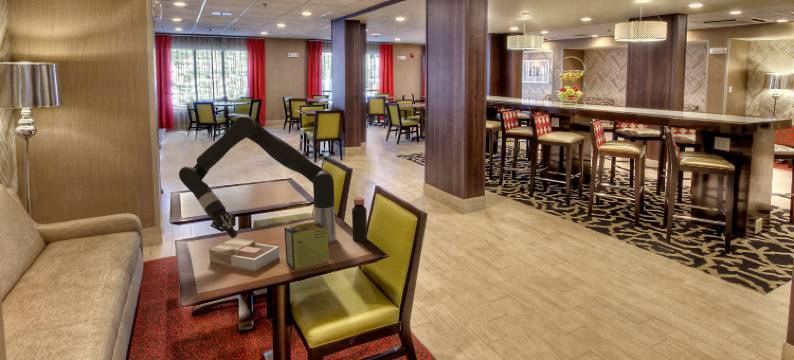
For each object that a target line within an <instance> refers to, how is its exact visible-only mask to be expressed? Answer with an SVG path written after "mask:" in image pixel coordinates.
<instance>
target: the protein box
mask: <svg viewBox="0 0 794 360" xmlns="http://www.w3.org/2000/svg"><path fill="white" fill-rule="evenodd" d="M283 228H284V241H285V242H284V243H285V244H284V246H285V260H286V261H285V262H286V263H287V264H288V265H290V267H292V269H294V270H298V269H303V268H307V267H312V266H316V265H321V264H325V263H329V261H330V257H329V256H330V255H329V253H330V252H329V244H328V227H327V226H325V225H324V224H322V223H320V222H319V221H315V220H314V221H310V222H305V223H304V222H303V223H299V224H294V225H288V226H284V227H283Z"/></svg>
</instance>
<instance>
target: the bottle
mask: <svg viewBox="0 0 794 360" xmlns="http://www.w3.org/2000/svg"><path fill="white" fill-rule="evenodd" d="M367 213H368V211H367V208H366V207H365V198H364V197H361V196H360V197H355V198H353V207H352V209H351V219H352V220H351V225H352V227H351V228H352V229H351V230H352V240H353V241H354V240H355V241H354V242H357V241H362V240H365V241H367V240H368V231H367V230H368V220H367V219H368V218H367V215H368V214H367ZM362 242H363V241H362Z"/></svg>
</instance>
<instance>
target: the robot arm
mask: <svg viewBox="0 0 794 360" xmlns="http://www.w3.org/2000/svg"><path fill="white" fill-rule="evenodd" d="M245 139H248V140H250V141H252V142H253V143H255V144H257V145H258V146H259V147H260V148H261V149H262V150H263V151H265V152H266V153H267V155H268V156H270V157H271V158H272V159H273V160H275V161H276V162H277V163H279V164H280V165H282V166H283V167H285V168H287V169H289V170H291V171H293V172H295V173H298V174H300V175H301V176H303V177H304V178H306V179H307V180H308V181H309V182H311V183H312V185H313V186H312V189H313V190H312V191H313V209H314V214H313V215H314V221H319V222H320V223H322V224H324V225H325V226H327V227H328V245H329V244H332V243H334V242H336V239H337V233H336V232H337V231H336V227H337V225H336V219H335V218H336V217H335V183H334V182H335V181H334V178H333V175H332V174H331V172H329V171H328V170H326V169H324V168H322V167H321V166H319V165H317V164H316V163H313V162H312V161H311V160H310V159H308V158H307V157H306V156H305V155H304V154H303V153H301V152H299V150H297V149H296V148H295V147H293V146H292V145H290V144H289V143H288V142H286V141H285V140H283V139H282V138H280V137H278V136H277V135H274V134H273V133H271V132H269V131H267V129H265V128H264V127H263V126H262V125H260V124H259V123H258V122H257V121H256V120H255V119H254V118H253V117H251V115H248V114H247V115H240V116H238V117H236V118H235V120H234V121H233V123H232V125H231V126H230V127H229V128H228V129H227V131H226V132H225V133H224V134H223V135H221V136H220V138H218V140H217V141H215V142H214V143H212V144H211V145H210V146H209V147H207V148H206V149H205V150H204V151H203V152H202V153H201V154H200V155H199V156H198V157H197V158H196V164H194V166H186V165H185V166H183V167H182V168H180V169H179V172H178V178H179V180H180V181H181V182H182V184H183V185H184V186H185V187H186V188H187V189H188V190H189V191H190V192H191V193H192V194H193V197H195V198H196V200H197V201H198V203H199V205H200V206H201V208H202V209H203V211H204V212H205V213H206V214H207V216H208V218H210V219H211V223H210V227H211V228H213V229H214V230H217V231H220V232H221V233H223V232H226V233H227V234H228V236H229V237H230V238H231V239H234V238H237V236H238V233H237V232H236V230H235V228H234V227H236V224H237V223H236V221H237V220H236V219H237V217H236V215H235V214H230V213H229V212H227V210H226V207H225V205H224V203H222V201H221V200H220V198H219V197H218V196H217V195H216V193H214V191H213V190H212V188H211V187H210V186H209V184H208V183H206V182H204V181H203V180H204V178H205V177H206V176H207V174H208V173H209V171H210V170H211V169H212V168H213V167H214V166H215V165H217V163H218V162H219V161H221V159H223V158H224V156H225V155H226V154H227V153H228V152H229V151H230V150H231V149H232V148H234V147H235V146H236V145H237V144H238V143H240V142H241V141H243V140H245Z"/></svg>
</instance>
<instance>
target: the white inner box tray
mask: <svg viewBox="0 0 794 360" xmlns="http://www.w3.org/2000/svg"><path fill="white" fill-rule="evenodd" d="M254 245H255V248H260V249H262V255H260V256H258V257H256V258H255V259H253V258H248V257H242V256H236V255H231V265H232V267H231V268H233V269H234V268H235V269H240V270H245V271H251V272H258V271H259V270H261V269H263V268H264V267H266V266H269V264H271V263H273V262H275V261H276V260H279V259H280V247H279V246H275V245H270V244H264V243H258V242H255V244H254Z"/></svg>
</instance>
